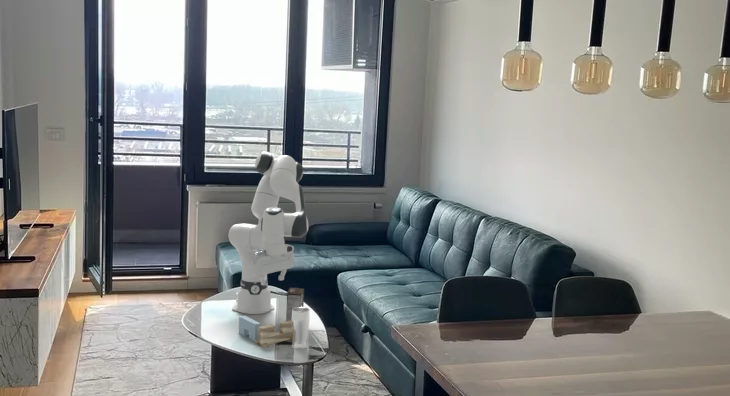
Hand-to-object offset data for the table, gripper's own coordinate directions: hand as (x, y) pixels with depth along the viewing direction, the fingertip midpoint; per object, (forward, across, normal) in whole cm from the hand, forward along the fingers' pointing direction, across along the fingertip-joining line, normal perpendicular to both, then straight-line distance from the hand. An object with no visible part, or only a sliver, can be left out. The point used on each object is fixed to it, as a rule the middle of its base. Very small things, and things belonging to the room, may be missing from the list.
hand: (272, 282), depth 276 cm
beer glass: (+22, -1, -17) cm, 28 cm away
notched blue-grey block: (+22, -8, +4) cm, 24 cm away
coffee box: (+23, +13, 0) cm, 26 cm away
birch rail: (+22, -4, -7) cm, 23 cm away
